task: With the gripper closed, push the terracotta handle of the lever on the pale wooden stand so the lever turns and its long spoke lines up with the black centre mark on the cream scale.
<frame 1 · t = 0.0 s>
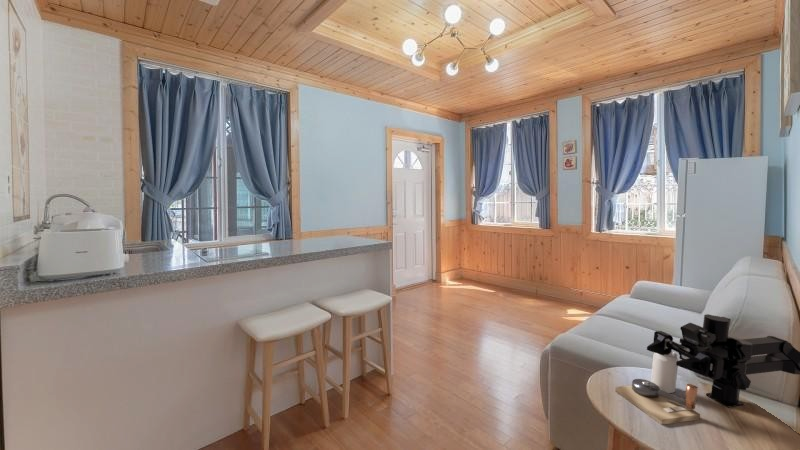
hand: (661, 355, 102), 17 cm above the table, tool horizontal, fingers open, 9 cm apart
lever: (663, 386, 106), point 5 cm above the table, hinge at 25.0°
stand: (654, 404, 106), on the table
can: (662, 388, 115), on the table
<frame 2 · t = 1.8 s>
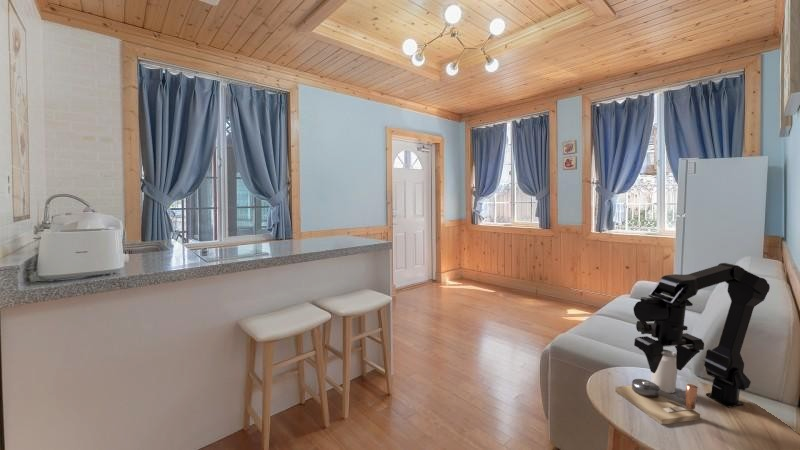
hand: (665, 370, 104), 11 cm above the table, tool pointing down, fingers open, 9 cm apart
nothing on the table moved.
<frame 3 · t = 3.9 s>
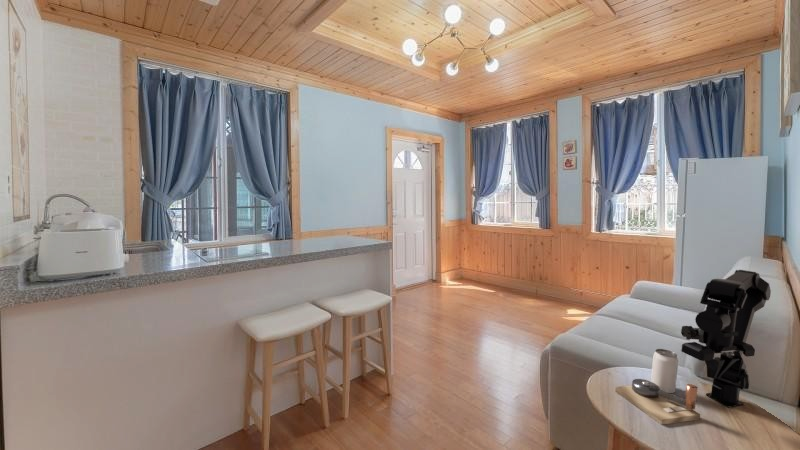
hand: (714, 377, 101), 11 cm above the table, tool pointing down, fingers closed
nothing on the table moved.
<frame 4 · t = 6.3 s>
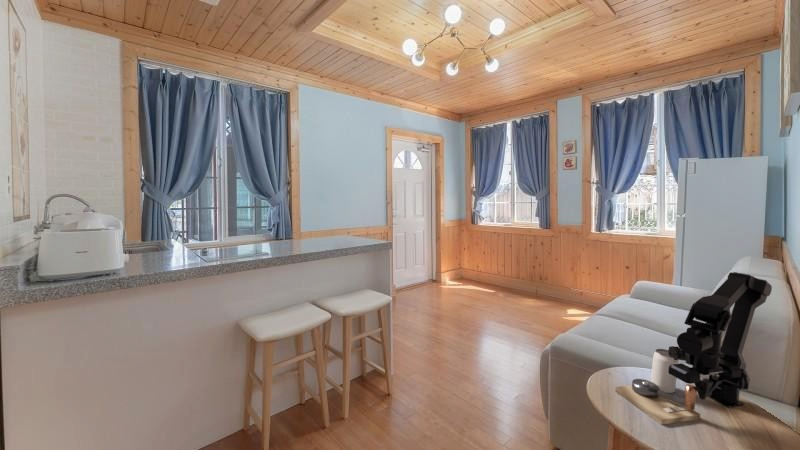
hand: (701, 399, 101), 5 cm above the table, tool pointing down, fingers closed
lever: (662, 387, 106), point 5 cm above the table, hinge at 22.9°, touching gripper
everything else where it was.
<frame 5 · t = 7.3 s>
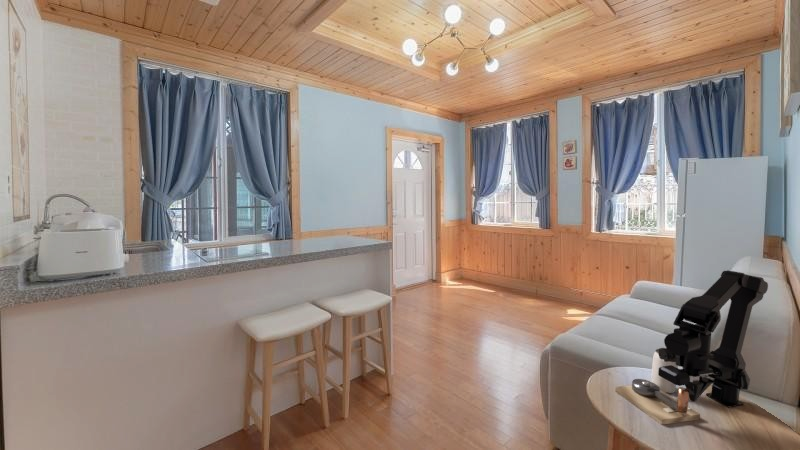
hand: (692, 401, 100), 5 cm above the table, tool pointing down, fingers closed
lever: (659, 388, 105), point 5 cm above the table, hinge at 3.5°, touching gripper
everything else where it was.
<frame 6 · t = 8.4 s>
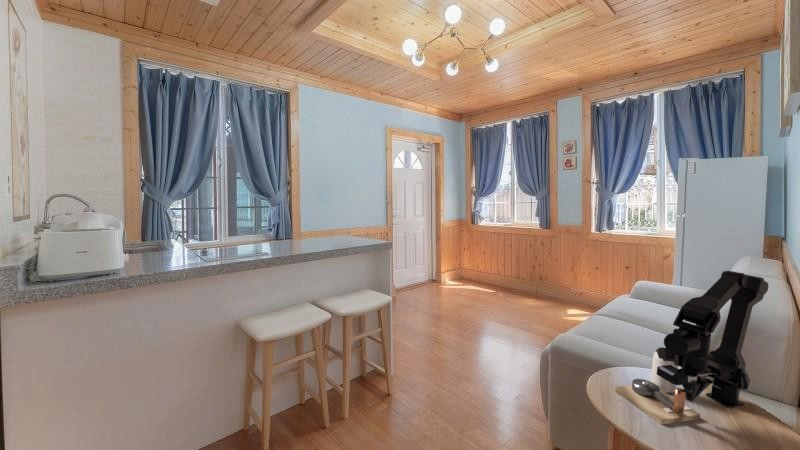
hand: (689, 400, 100), 5 cm above the table, tool pointing down, fingers closed
lever: (658, 388, 105), point 5 cm above the table, hinge at -3.0°
everything else where it was.
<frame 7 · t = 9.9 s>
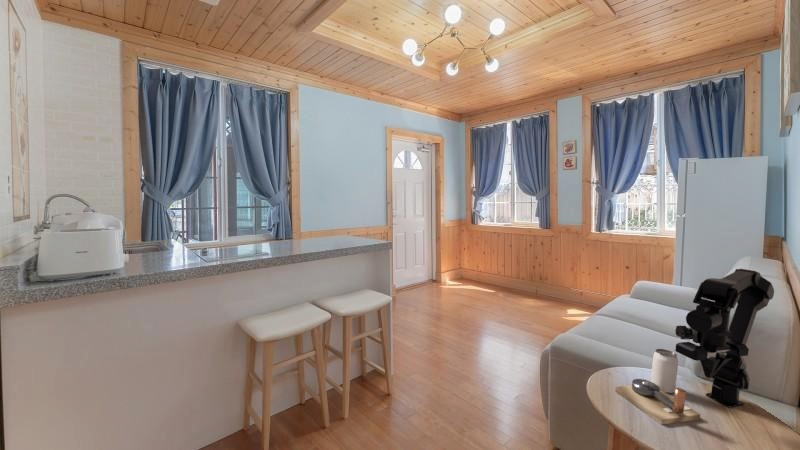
hand: (708, 377, 101), 11 cm above the table, tool pointing down, fingers closed
nothing on the table moved.
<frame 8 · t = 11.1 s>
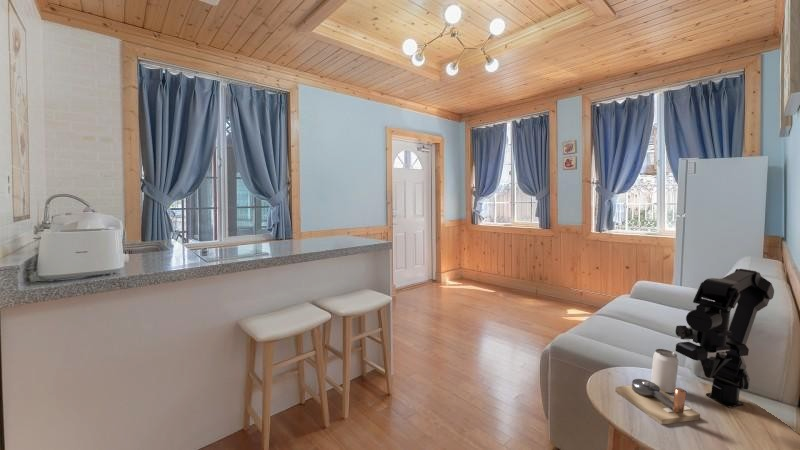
hand: (708, 377, 101), 11 cm above the table, tool pointing down, fingers closed
nothing on the table moved.
at the end: lever at -3° (first picture: +25°); can moved 0.2 cm from its start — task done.
